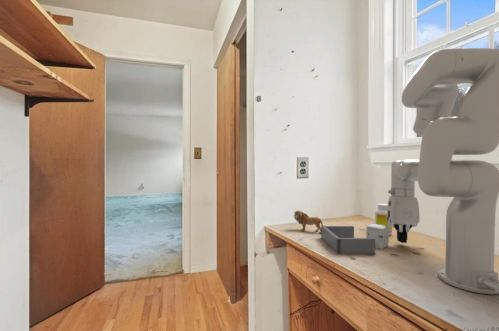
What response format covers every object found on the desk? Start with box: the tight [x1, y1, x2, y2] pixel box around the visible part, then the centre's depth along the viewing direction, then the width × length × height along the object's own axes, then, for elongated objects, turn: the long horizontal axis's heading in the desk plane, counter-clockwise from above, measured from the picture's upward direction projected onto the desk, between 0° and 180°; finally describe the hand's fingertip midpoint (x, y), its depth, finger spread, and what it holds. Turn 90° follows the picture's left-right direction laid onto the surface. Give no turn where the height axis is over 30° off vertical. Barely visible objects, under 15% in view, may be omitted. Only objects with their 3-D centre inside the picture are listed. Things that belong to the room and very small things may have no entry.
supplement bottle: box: [374, 203, 393, 236], centre depth 112 cm, size 7×7×13 cm
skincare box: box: [365, 223, 390, 250], centre depth 95 cm, size 6×6×7 cm
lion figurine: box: [293, 210, 324, 235], centre depth 114 cm, size 15×5×9 cm, turn 67°
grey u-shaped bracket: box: [320, 225, 376, 255], centre depth 95 cm, size 18×13×5 cm
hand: (402, 241), depth 96 cm, fingers closed
